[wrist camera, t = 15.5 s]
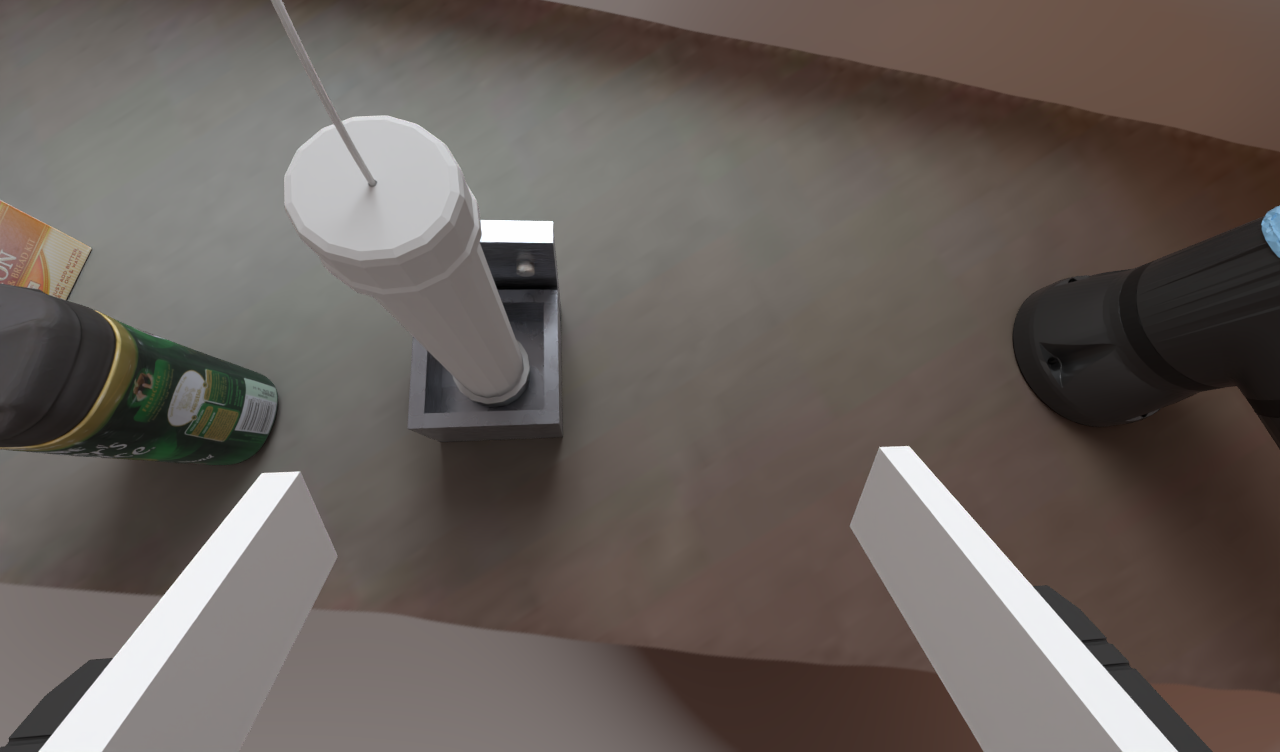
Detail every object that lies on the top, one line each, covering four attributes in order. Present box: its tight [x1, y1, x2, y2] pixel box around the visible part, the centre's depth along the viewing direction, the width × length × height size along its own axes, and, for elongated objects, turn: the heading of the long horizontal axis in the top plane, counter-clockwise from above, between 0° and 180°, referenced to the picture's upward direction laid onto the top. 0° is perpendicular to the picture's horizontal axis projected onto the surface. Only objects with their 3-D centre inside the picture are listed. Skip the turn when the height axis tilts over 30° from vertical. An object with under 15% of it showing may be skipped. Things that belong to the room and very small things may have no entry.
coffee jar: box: [0, 284, 278, 465], centre depth 30 cm, size 10×8×19 cm
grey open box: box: [408, 220, 563, 442], centre depth 36 cm, size 12×10×14 cm
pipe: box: [271, 0, 530, 407], centre depth 24 cm, size 6×6×30 cm
